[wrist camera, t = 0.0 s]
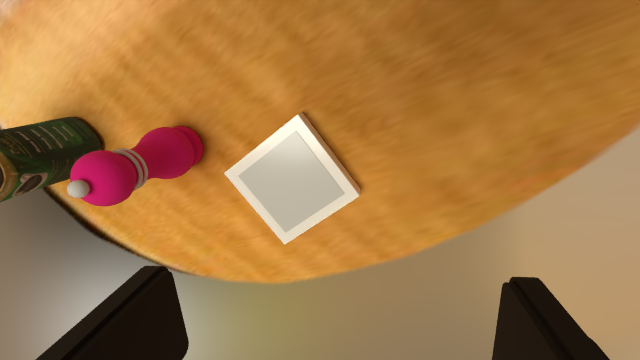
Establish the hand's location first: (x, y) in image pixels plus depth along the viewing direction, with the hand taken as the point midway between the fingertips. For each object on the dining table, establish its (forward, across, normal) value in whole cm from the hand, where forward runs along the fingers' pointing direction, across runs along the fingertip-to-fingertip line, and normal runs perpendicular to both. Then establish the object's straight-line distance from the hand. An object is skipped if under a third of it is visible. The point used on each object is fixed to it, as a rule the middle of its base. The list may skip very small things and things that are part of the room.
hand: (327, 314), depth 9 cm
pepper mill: (+38, +27, +3) cm, 46 cm away
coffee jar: (+38, +45, +2) cm, 59 cm away
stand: (+37, +10, +8) cm, 39 cm away
